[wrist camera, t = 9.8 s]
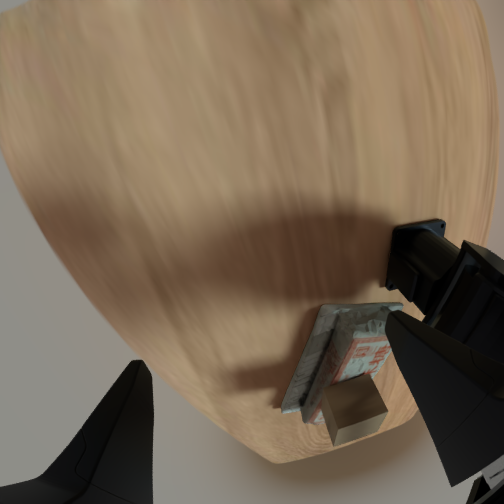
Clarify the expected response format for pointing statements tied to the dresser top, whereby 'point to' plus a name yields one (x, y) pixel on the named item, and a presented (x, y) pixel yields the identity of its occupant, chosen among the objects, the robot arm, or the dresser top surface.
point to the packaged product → (338, 354)
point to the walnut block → (352, 409)
